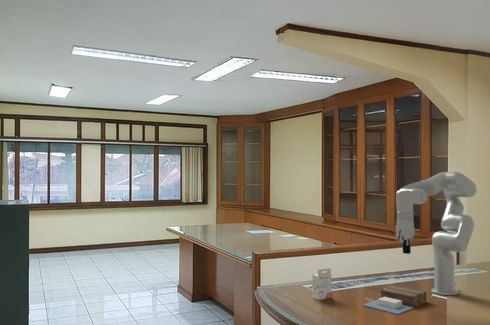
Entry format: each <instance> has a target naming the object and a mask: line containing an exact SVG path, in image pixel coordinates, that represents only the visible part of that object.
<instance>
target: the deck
mask: <svg viewBox="0 0 490 325" xmlns="http://www.w3.org/2000/svg"><path fill="white" fill-rule="evenodd" d="M382 297H388V298H393V299H397V300H402V305H406V306H410V307H415V308H416V307H418V306H420V305H422V304H425V303H427V291H426V290H421V289H416V288H411V287H405V286H400V285H397V284H396V285H395V284H394V285H392V286H390V287H387V288H386V287H385V288H383V289H381V290H380V298H382Z"/></svg>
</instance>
